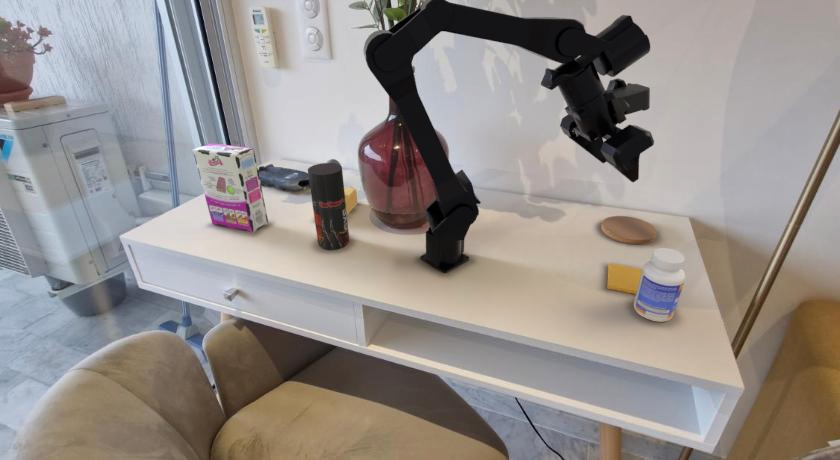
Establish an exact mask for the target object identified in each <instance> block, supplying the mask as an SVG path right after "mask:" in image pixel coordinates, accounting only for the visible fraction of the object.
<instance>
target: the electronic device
mask: <svg viewBox="0 0 840 460" xmlns="http://www.w3.org/2000/svg"><path fill="white" fill-rule="evenodd" d="M258 173H259V178H260V183H261V185H263V186H268V187H274V188H276V189H278V190H281V191H284V192H285V191H287V192H296V191H299V190H306V188H307V187H310V183H309V176H308V172H306V171H303V170H300V169H299V170H298V169H294V168H289V167H288V168H287V167H281V166H275V165H274V164H273V163H269V164H268V165H265V166H264V165H261V166H259V167H258Z"/></svg>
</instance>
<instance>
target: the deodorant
mask: <svg viewBox="0 0 840 460" xmlns="http://www.w3.org/2000/svg"><path fill="white" fill-rule="evenodd" d="M307 173H308V176H309V183H310V185H309V190H310V196H311V197H310V198H311V203H312V210H313V217H314V224H315V231H316V238H317V245H318V248H320V249H321V250H324V251H338V250H342V249H344V248H346V247H347V246H348V245H349V244H350V233H349V223H348V215H347V212H346V202H345V192H344V188H345V183H344V175H343V166H342V165H339V164H335V163H326V162H323V163H317V164H314V165H311V166H309V167H308V168H307Z"/></svg>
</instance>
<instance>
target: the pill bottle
mask: <svg viewBox="0 0 840 460" xmlns="http://www.w3.org/2000/svg"><path fill="white" fill-rule="evenodd" d="M684 263H685V256H684V254H682V252H680V251H678V250H675V249H672V248H667V247H658V248H654V249H653V251H652V253H651V256H650V260H649V261H647V262H646V263H644V264H643V267H642V273H641V277H640V281H639V285H638V289H637V293H636V294H635V297H634V301H633V309H634V311H635V312H636V313H637V314H638V315H639V316H641V317H643V318H645V319H647V320H650V321H654V322H659V323H662V322H668V321H670V320H671V319H673V317H674V314H675V312H676V309H677V306H678V303H679V300H680V297H681V293H682V290H683V287H684V283H685V280H686V272H685V271H684V269H683V267H684Z"/></svg>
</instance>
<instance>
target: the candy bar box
mask: <svg viewBox="0 0 840 460" xmlns="http://www.w3.org/2000/svg"><path fill="white" fill-rule="evenodd" d="M192 153H193V156H194V161H195V164H196V168H197V172H198V176H199V179H200V183H201V186H202V187H201V188H202V190H203V194H204V197H205V201H206V206H207V209H208V213H209V216H210V221H211V224H212V225H213V226H218V227H220V228H221V227H222V228H227V229H232V230H237V231H240V232H241V231H242V232H245V233H246V232H247V233H251V234H254V233H257V232H258V231H259V230H261V229H263V228H264V227H266V226H267V225H269V224H270V223H269V218H268V213H267V207H266V203H265V199H264V193H263V189H262V184H261V183H260V178H259V173H258V170H259V167H258V163H257V159H256V158H257V157H256V153H255V149H254V147H247V146H237V145H231V144H222V143H213V142H212V143H211V142H210V143H207V144H204V145H201V146H198V147H195V148H193V149H192Z"/></svg>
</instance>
